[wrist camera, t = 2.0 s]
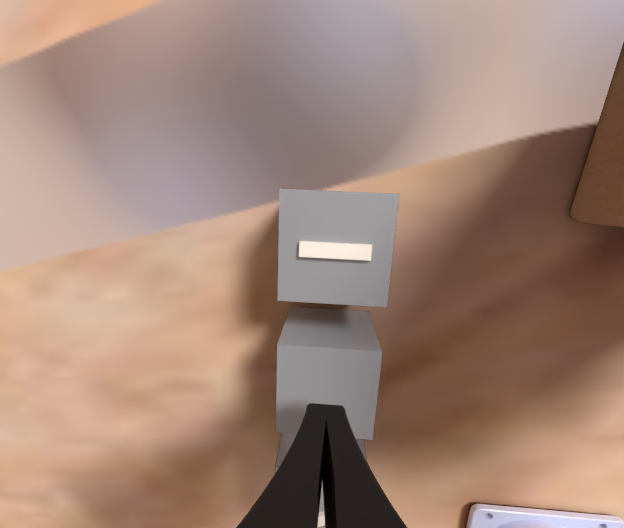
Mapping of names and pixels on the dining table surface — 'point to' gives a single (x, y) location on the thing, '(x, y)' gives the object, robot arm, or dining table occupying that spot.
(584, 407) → the dining table surface
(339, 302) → the block marked 1
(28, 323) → the dining table surface
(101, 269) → the dining table surface
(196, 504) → the dining table surface
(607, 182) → the wooden block
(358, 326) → the plain block
